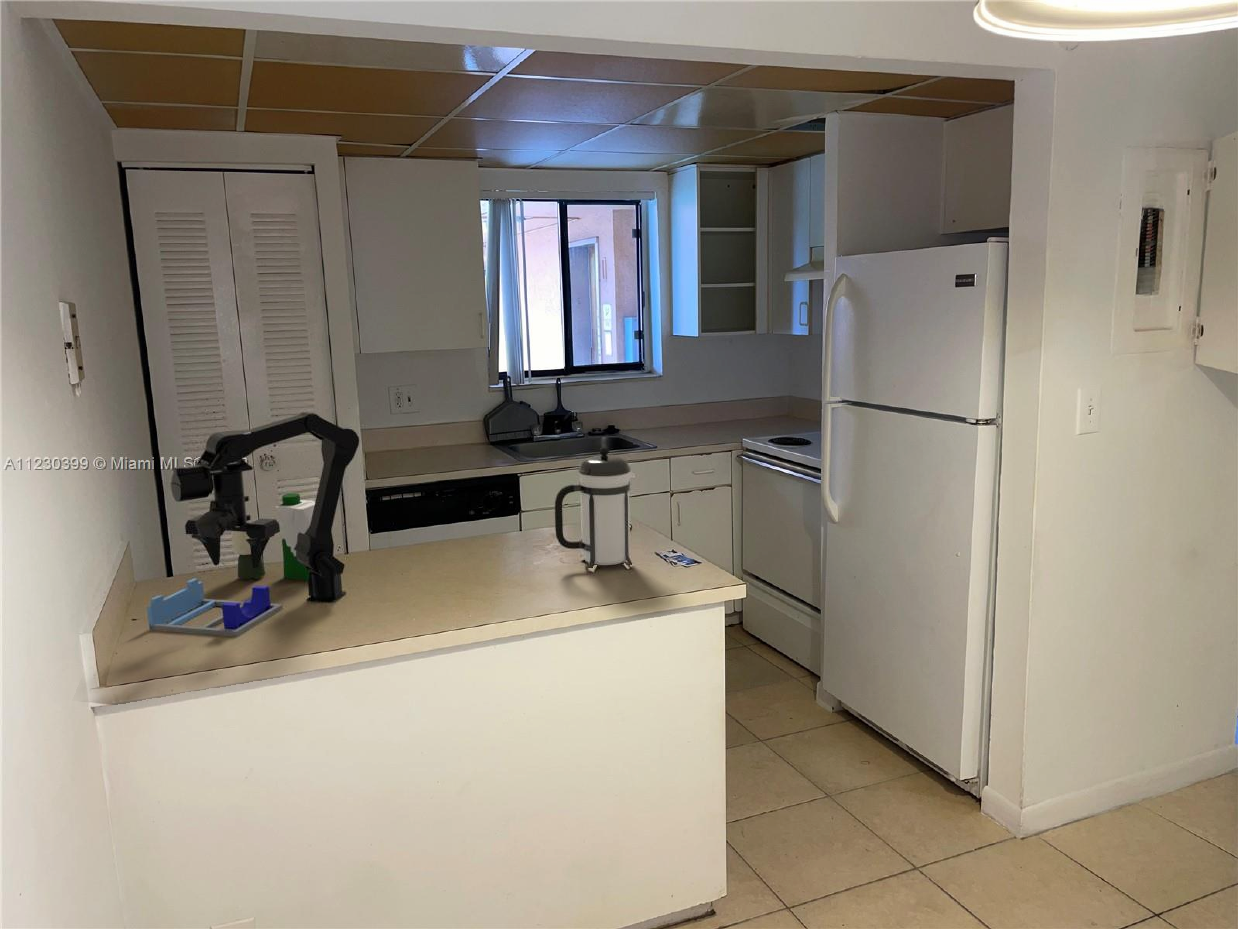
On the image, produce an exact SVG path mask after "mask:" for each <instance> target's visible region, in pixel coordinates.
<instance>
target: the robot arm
mask: <svg viewBox="0 0 1238 929" xmlns="http://www.w3.org/2000/svg"><path fill="white" fill-rule="evenodd" d="M308 433H309V434H310V435H311V436H313V437H314V438H316V439H318V440H320V441H321V446H320V447H321V448H320V449H321V450H320V451H321V457H322V461H323V466H322V470H321V475H320V480H319V485H318V488H317V489H318V490H317V493H316V498H315V500H314V501H315V505H314V510H313V514H312V519H311V523H310V526H309V528H308V529H307V531H306V532H305V533H304V534H303V533H300V532H299V533H298V536H297V544H296V546H295V548H294V550H296V558H297V559H298V561H299V562H300V563H302V564H303V565H305V567H306V569H307V570H309V571H311V572H309V578H308V579H307V580H306V581H307V590H308V596H309V597H307V598H306V602H313V603H327V604H328V603H329V604H331V603H335V602H336V601H338V600H339V599H340V598H342V597H344V596H345V595H346V594H347V591H346V590H345V591H344V590H343V585H342V574H343V573H344V569H345V564H344V563H343V562H342V561H340V560H339V559H338V558H336V557H335V556H334V553H335V551H334V549H335V543H334V537H333V530H332V529H333V526H334V520H335V516H336V513H337V508H338V503H339V499H340V494H341V490H342V487H343V486H342V485H343V482H344V481H343V480H344V477H345V471H346V469H347V467H348V466H349V465H350V463H351V462H352V461H353V460H354V458H355V455H356V452H357V450H358V448H359V445H360V437H359V436H358V434H357V432H356V431H355V430H354V429H351V428H348V427H343V426H339V425H336V424H335V423H332V422H330V421H328V420H326V419H324V418H322V417H321V416H320V415H318V414H317V413H314V412H309V411H303V412H301V413H300V414H298V415H293V416H290V417H287V418H283V419H280V420H277V421H274V422H270V423H267V424H263V425H260V426H256V427H254V428H250V429H243V430H241V429H240V430H227V431H218V432H215V433H213V434H211V435H209V437H208V438H207V440H206V444H205V449H204V451H203V452H202V454H201V455H200V457H199V459H198V461H197V462H196V463H195V465H191V466H175V467H173V469H172V470H173V474H172V476H171V482H170V489H171V493H172V497H173V499H174V500H175V501H176V502H177V503H180V502H185V501H193V500H198V499H204V498H205V499H206V498H208V497H209V496H210V495H212V493H213V498H214V499H213V500H210V503H209V510H208V511H207V512H205V513H204V514H202V515H201V514H200V515H197V516H195V517H193V518H191V519H188V520H186V522H185V525H184V532H185V534H186V535H190V536H191V538H192V539H196V540H198V541H199V542H200V543H201V544H202V545H203V546H204V548H205V550H206V552H207V554H208V555H209V556H208V557H209V559H211V562H212V564H213V565H214V566H218V565H220V560H221V537H222V536H223V534H224V533H225V532H231V531H240V532H246V534H247V535H248V536H249V538H248V539H246V541H247V542H248V543H249V544H250V548H251V560H252V566H253V568H257V567H258V565H259V562H260V559H261V557H262V556H263V554H264V551H265V549H266V547H267V545H268V543H269V540H270V539H271V538H272V537H274V536H275V535H276V534H279V533H281V527H280V522H279V521H278V520H277V519H276V518H275V519H273V518H260V519H257V520H255V521H252V522H249V521H251V520H252V519H251V514H247V508H246V502H249V501H250V498H249V497H250V496H249V495H245V487H244V477H243V475H244V474H243V472H247V471H252V470H253V469H254V467H253V466H252V465H251V464H249V463H247V461H246V460H245V459H244V458H247V457H248V456H250V455H251V454H253V453H254V452H255V451H256V450H258V449H260V448H263V447H266V446H269V445H272V444H275V443H279V442H281V441H285V440H289V439H291V438H295V437H297V436H301V435H305V434H308ZM236 526H239V527H236ZM262 558H263V557H262Z"/></svg>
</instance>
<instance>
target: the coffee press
mask: <svg viewBox="0 0 1238 929" xmlns="http://www.w3.org/2000/svg"><path fill="white" fill-rule="evenodd" d="M609 452H610V451H609V449H608V447H606V446H603V447H600V450H599V454H600V455H594V456H590V457H587V458H585V459H584V460H583V461H582V462H581V463H580V466H579V467H578V473H579V477H580V478H579V480H580V481H579V483H578V484H569V485H565V486H564V487H562V488H560V489H559V491H558V492H557V494H556V497H555V501H554V525H555V526H554V527H555V529H554V531H555V538H556V540H557V542H558V543H559V544H560V545H561V547H563V548H566V549H571V550H576V549H578V550H579V549H580V550H581V555H580V556H579V558H580V557H581V556H583V558H584V560H585V561H584V562H586V563H588V566H587V569H588V568H593V566H594V565H597V567H599V566H612V565H618V564H619V565H623V564H624V563H627V565H628V566H630V565H632V564H633V562H632V561H631V559H630V554H631V550H630V549H631V541H630V540H631V537H630V536H631V534H630V532H631V530H630V528H631V527H630V523H631V522H630V521H631V520H630V491H631V482H630V479H631V478H636V475H635V473H634V472H633V471H632V470H631V466H630V465H629V463H628V462H627V460H626V459H624V458H623V457H620V456H616V455H608V454H609ZM574 492H575V493H576V492H580V519H581V520H580V522H581V523H580V525H581V526H580V527H581V528H580V529H581V538H580V540H578V541H569V540H568V539H566V538H565V537H564V523H563V518H564V517H563V502H564V499H565V497H566V496H567V495H568V494H571V493H574ZM626 561H627V562H626ZM598 565H599V566H598Z"/></svg>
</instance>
